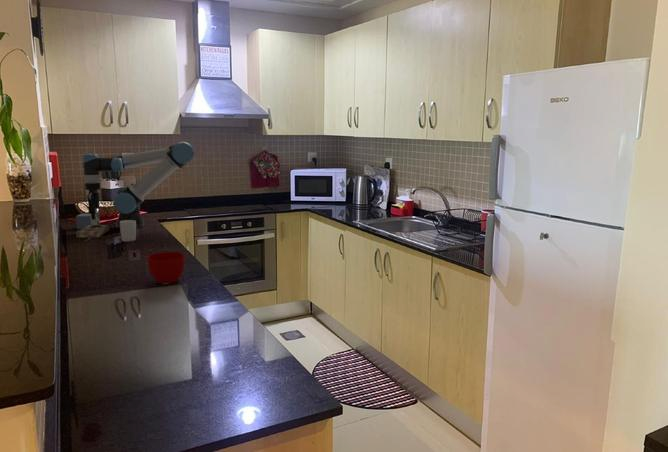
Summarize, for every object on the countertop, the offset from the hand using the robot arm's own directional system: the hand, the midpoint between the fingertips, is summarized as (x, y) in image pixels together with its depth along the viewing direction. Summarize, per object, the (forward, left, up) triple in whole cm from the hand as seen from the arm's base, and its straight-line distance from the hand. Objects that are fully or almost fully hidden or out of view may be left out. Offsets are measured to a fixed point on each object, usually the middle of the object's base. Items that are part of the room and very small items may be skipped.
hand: (95, 224), depth 276 cm
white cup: (-23, +25, -5) cm, 34 cm away
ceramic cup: (-53, +103, -5) cm, 116 cm away
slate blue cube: (+8, -13, -4) cm, 16 cm away
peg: (0, 0, -3) cm, 3 cm away
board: (0, +5, -4) cm, 7 cm away
